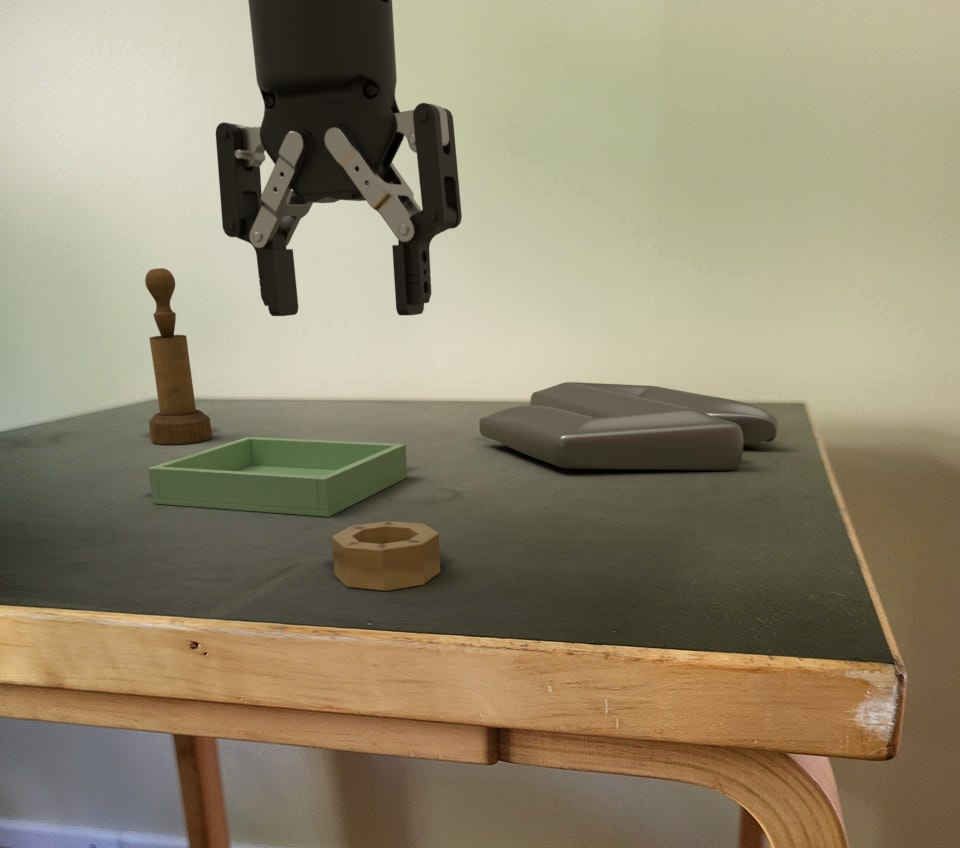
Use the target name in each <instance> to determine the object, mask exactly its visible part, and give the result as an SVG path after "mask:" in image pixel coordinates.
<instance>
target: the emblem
mask: <svg viewBox="0 0 960 848" xmlns="http://www.w3.org/2000/svg"><path fill="white" fill-rule="evenodd" d="M478 424H479V433H480V435H481V436H483V437H485V438H487V439H488V440H493V441H496V442H498V443H500V444H502V445H504V446H506V447H508V448H510V449H512V450H514V451H516V452H518V453H521V454H524V455H527V456H529V457H531V458H534V459H537V460H540V461H542V462H545V463H547V464H550V465H553V466H556V467H558V468H562V469H567V470H639V471H640V470H643V471H734V470H736V469H738V467H739V466H740V464H741V461H742V459H743V454H744V453H743V452H744V444H745V445H747V444H758V443H763V442H764V443H765V442H766V443H770V442H773V441H774V440H775V439H776V437H777V434H778V427H779V426H778V420H777V418H776V416H775V415H774V414H772V413H770V412H768V411H766V410H764V409H763V408H761V407H758V406H756V405H753V404H750V403H748V402H744V401H740V400H735V399H730V398H726V397H725V398H724V397H719V396H712V395H708V394H701V393H695V392H690V391H685V390H678V389H673V388H668V387H663V386H657V385H641V384H619V383H600V382H599V383H598V382H597V383H595V382H577V381H565V382H561V383H558V384H556V385H552V386H550V387H547V388H544V389H541V390H537V391H534V392H533V393H531V395H530V399H529V405H517V406H512V407H508V408H505V409H501V410H498V411H494V412H492V413H490V414H487V415H484V416H482V417H480V418H479V423H478Z"/></svg>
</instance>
